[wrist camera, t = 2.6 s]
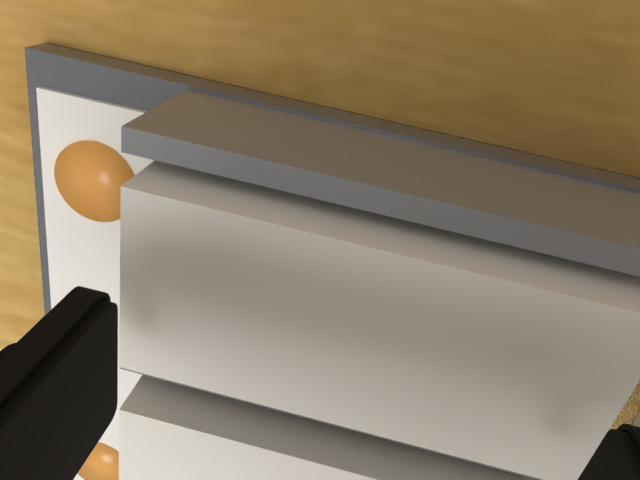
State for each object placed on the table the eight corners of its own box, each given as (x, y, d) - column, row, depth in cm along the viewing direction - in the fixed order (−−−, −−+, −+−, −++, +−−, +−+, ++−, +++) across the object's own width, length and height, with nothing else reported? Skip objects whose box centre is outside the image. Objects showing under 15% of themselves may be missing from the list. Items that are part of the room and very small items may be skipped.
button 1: (632, 257, 13) (675, 321, 11) (550, 408, 15) (573, 487, 13) (171, 147, 14) (120, 186, 11) (162, 308, 16) (119, 367, 14)
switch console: (657, 182, 15) (746, 269, 11) (447, 585, 25) (451, 714, 21) (46, 42, 16) (-86, 72, 12) (71, 480, 26) (2, 582, 22)
